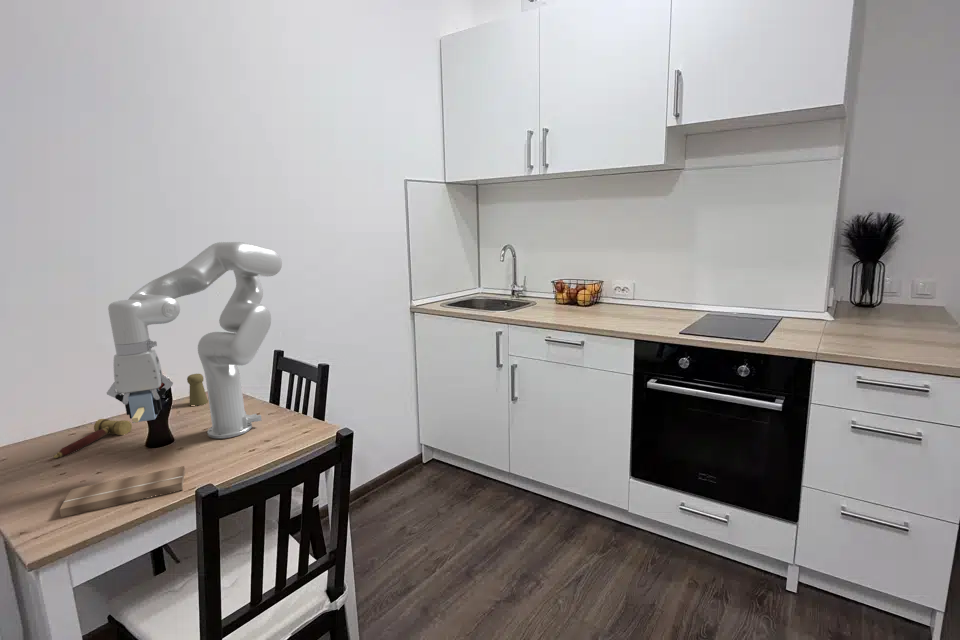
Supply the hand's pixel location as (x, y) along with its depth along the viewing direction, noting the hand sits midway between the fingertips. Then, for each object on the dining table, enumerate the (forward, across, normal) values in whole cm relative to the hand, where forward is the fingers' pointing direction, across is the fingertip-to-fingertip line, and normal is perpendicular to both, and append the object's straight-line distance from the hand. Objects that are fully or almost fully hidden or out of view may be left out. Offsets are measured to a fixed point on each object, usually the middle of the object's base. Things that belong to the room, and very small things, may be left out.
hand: (145, 414), depth 137 cm
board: (+15, +4, +13) cm, 20 cm away
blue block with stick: (+1, 0, +4) cm, 4 cm away
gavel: (+16, +21, -27) cm, 38 cm away
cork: (+16, -6, -51) cm, 54 cm away
